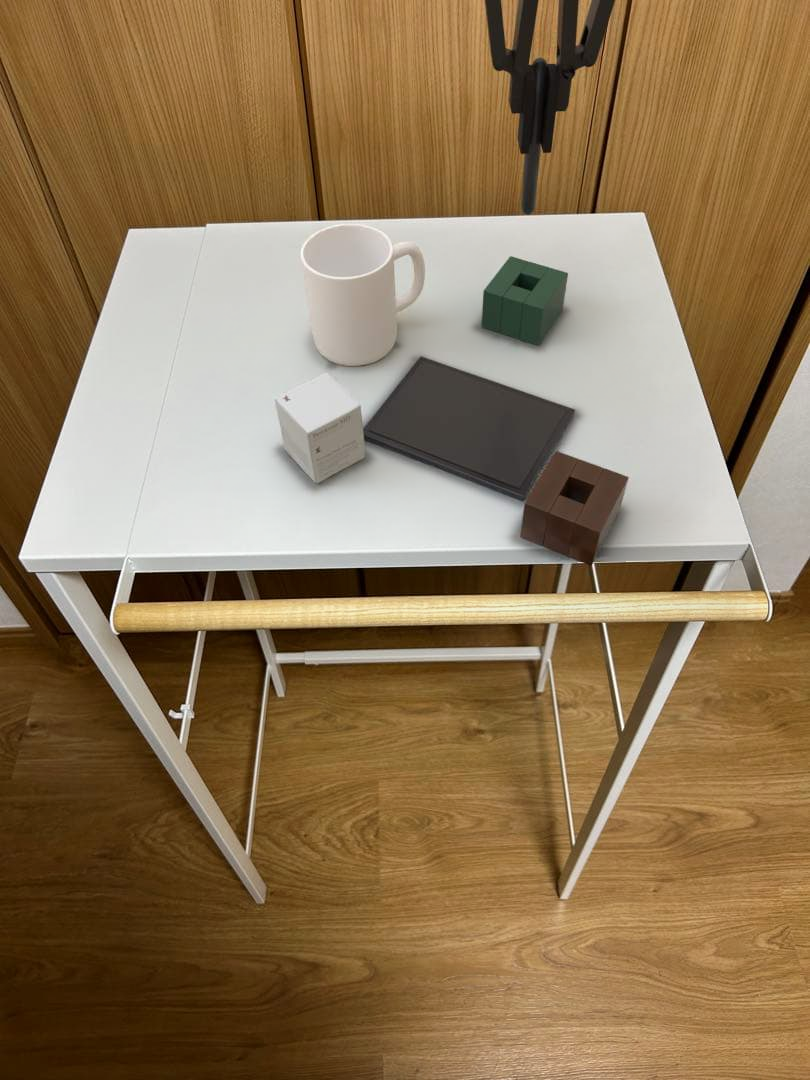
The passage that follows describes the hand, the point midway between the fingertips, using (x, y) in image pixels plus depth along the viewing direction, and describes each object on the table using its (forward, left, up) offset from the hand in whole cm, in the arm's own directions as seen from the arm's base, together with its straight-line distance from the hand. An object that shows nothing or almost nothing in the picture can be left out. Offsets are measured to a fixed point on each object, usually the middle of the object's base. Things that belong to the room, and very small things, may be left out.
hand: (534, 145), depth 76 cm
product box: (+9, +26, -22) cm, 35 cm away
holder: (-16, +23, -21) cm, 35 cm away
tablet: (-2, +16, -21) cm, 27 cm away
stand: (0, -2, -21) cm, 22 cm away
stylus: (0, 0, -7) cm, 7 cm away
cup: (+14, +8, -22) cm, 27 cm away
